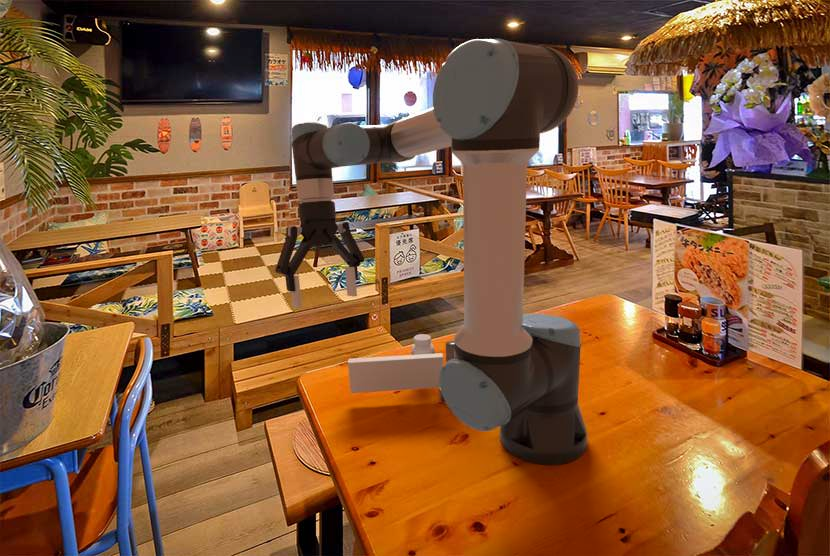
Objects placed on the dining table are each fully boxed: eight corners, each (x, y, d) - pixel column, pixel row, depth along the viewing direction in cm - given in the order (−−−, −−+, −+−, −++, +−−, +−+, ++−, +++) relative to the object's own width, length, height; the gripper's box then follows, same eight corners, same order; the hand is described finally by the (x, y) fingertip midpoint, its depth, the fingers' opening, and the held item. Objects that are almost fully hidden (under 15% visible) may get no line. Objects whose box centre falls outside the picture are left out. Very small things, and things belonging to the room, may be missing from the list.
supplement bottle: (433, 381, 113) (432, 342, 111) (410, 380, 114) (408, 341, 112) (437, 371, 118) (435, 333, 116) (415, 370, 119) (413, 332, 117)
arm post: (470, 401, 104) (468, 348, 101) (441, 402, 104) (439, 350, 101) (466, 387, 110) (465, 337, 106) (439, 389, 110) (437, 338, 106)
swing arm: (443, 382, 107) (442, 353, 105) (444, 387, 105) (443, 357, 103) (351, 388, 107) (348, 358, 105) (350, 393, 105) (347, 362, 103)
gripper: (355, 199, 114) (363, 290, 117) (251, 204, 98) (262, 309, 101) (375, 197, 108) (382, 293, 111) (267, 202, 92) (279, 313, 95)
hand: (325, 301), depth 106 cm, fingers open, 13 cm apart
